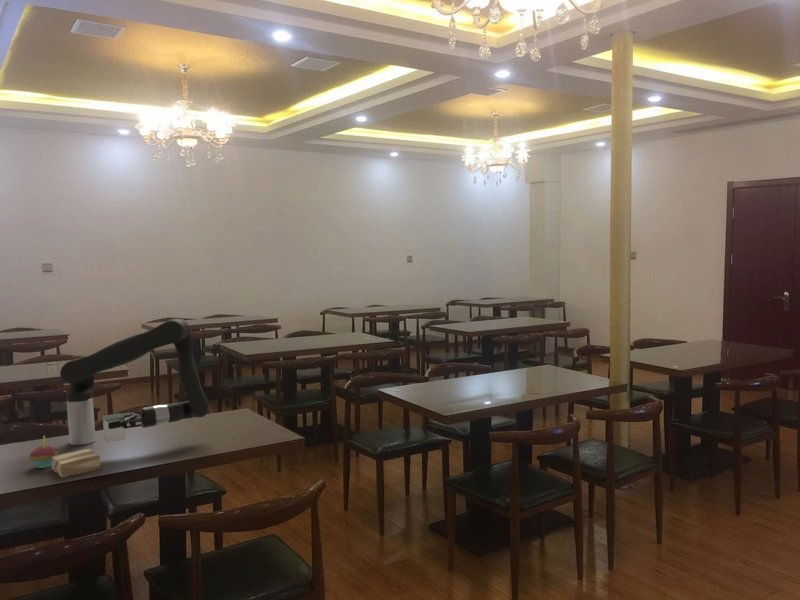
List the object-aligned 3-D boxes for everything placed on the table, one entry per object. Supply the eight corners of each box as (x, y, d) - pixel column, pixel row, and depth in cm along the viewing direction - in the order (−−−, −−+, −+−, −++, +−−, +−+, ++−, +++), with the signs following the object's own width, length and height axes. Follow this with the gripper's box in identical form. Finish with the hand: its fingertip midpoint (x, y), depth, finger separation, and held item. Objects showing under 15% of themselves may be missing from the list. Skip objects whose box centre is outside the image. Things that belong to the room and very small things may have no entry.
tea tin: (104, 438, 236) (102, 416, 235) (121, 435, 239) (120, 413, 238) (108, 442, 231) (106, 419, 230) (125, 439, 234) (124, 416, 234)
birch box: (52, 470, 224) (51, 456, 223) (89, 462, 232) (88, 448, 231) (62, 478, 215) (61, 464, 214) (100, 469, 223) (99, 455, 223)
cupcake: (62, 465, 227) (59, 432, 226) (35, 472, 221) (33, 438, 220) (52, 461, 233) (50, 428, 232) (26, 467, 227) (24, 433, 226)
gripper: (148, 402, 248) (101, 409, 238) (159, 409, 237) (110, 418, 227) (149, 421, 249) (102, 429, 239) (160, 429, 237) (112, 438, 228)
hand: (106, 424), depth 233 cm, fingers closed on tea tin, 6 cm apart
